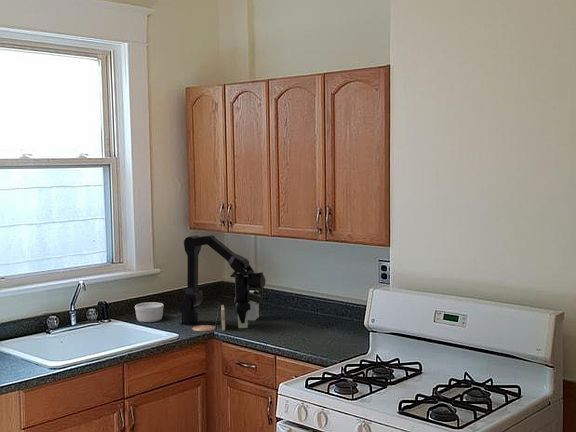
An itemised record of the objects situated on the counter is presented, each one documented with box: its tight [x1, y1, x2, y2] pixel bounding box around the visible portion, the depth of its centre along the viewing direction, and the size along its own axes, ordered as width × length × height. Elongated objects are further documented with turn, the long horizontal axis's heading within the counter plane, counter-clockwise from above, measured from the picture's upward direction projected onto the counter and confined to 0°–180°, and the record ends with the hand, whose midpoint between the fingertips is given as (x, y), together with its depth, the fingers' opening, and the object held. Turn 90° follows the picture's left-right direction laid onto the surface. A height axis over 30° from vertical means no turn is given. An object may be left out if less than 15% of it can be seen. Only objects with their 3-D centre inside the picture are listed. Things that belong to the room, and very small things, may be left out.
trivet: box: [191, 324, 216, 332], centre depth 327 cm, size 10×10×1 cm
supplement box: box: [247, 290, 260, 321], centre depth 345 cm, size 7×7×13 cm
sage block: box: [237, 312, 249, 329], centre depth 329 cm, size 4×4×7 cm
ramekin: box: [134, 301, 164, 323], centre depth 348 cm, size 13×13×7 cm
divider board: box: [220, 304, 226, 331], centre depth 328 cm, size 10×1×9 cm, turn 6°
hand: (242, 322), depth 329 cm, fingers closed on sage block, 4 cm apart
